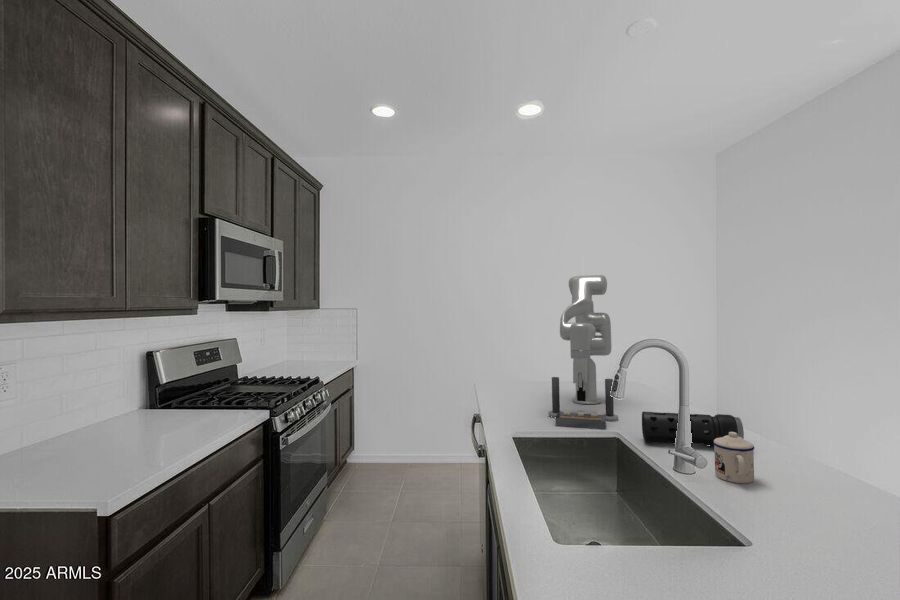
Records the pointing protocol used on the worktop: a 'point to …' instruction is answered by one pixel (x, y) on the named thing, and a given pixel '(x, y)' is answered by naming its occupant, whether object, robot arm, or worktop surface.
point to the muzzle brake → (702, 427)
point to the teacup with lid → (734, 459)
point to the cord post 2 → (609, 402)
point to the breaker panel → (581, 420)
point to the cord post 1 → (555, 397)
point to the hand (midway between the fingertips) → (581, 400)
